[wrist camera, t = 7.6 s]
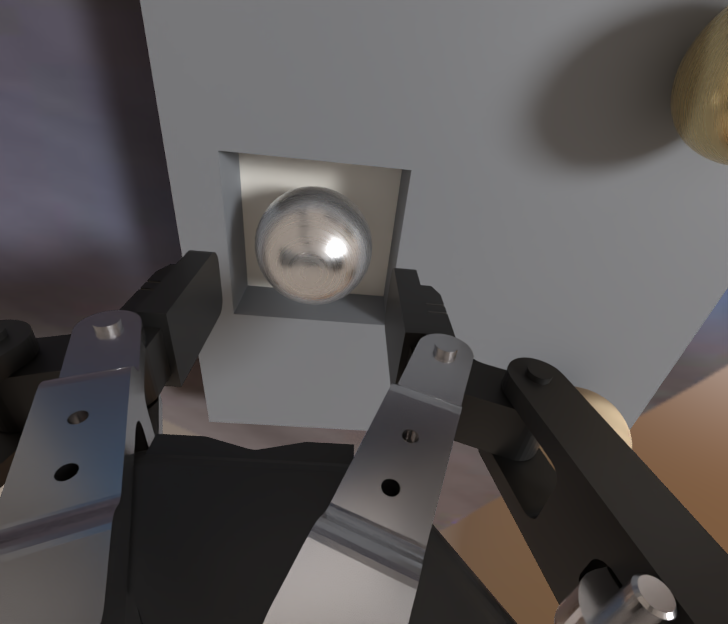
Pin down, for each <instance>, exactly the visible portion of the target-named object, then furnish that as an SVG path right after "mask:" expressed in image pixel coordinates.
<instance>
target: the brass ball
mask: <svg viewBox="0 0 728 624" xmlns="http://www.w3.org/2000/svg"><path fill="white" fill-rule="evenodd" d="M670 107H671V115H672V119H673V123H674V126H675V128H676V130H677V132H678V134H679V136H680V137H681V138H682V140H683V141H684V142H685V144H686V145H687V146H689V147H690V148H691V149H692V150H693V151H695V152H696V153H697V154H699V155H701V156H702V157H704V158H706V159H709V160H711V161H714V162H717V163H719V164H724V165H728V6H727V7H725V8H724V9H723V10H722V11H721V12H720V13H719V14H718V15H716V16H715V17H714V18H713V19H712V20H711V21H710V22H709V23H708V24H707V25H706V27H705V28H704V29H703V30H702V31H701V32H700V33H699V35H698V36H697V37H696V39H695V40H694V41H693V43H692V44H691V46H690V47H689V49H688V51H687V52H686V54H685V55H684V57H683V59H682V61H681V63H680V65H679V68H678V70H677V73H676V75H675V78H674V82H673V86H672V92H671V103H670Z"/></svg>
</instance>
